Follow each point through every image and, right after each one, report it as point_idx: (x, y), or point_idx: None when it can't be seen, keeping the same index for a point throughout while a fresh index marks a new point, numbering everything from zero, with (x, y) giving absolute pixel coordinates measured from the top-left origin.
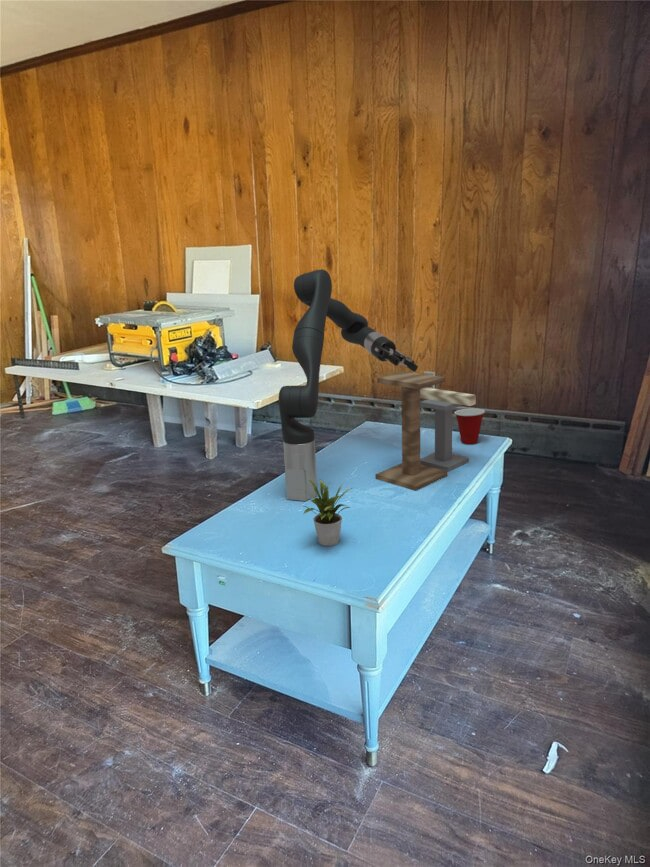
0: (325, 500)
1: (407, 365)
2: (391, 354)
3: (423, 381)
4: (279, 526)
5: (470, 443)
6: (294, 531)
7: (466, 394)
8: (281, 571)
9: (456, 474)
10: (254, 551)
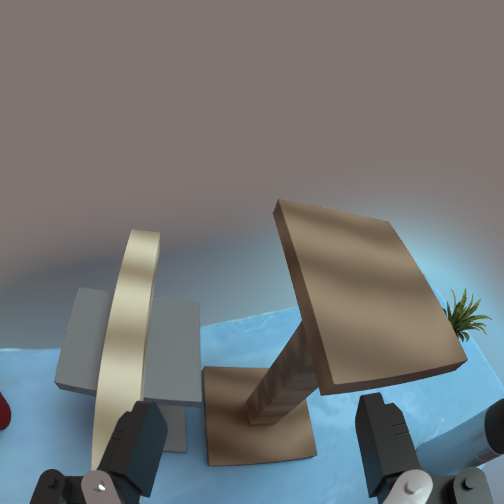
0: (463, 314)
1: (137, 501)
2: (415, 470)
3: (367, 224)
4: (463, 396)
5: (8, 405)
6: (454, 378)
7: (139, 247)
8: (465, 331)
9: None
10: (479, 367)
